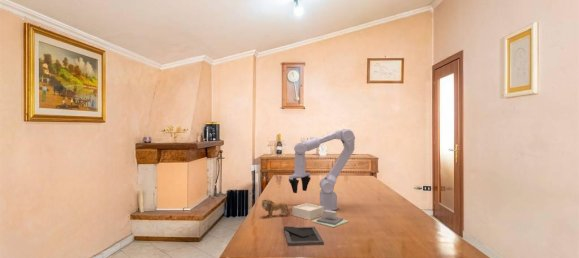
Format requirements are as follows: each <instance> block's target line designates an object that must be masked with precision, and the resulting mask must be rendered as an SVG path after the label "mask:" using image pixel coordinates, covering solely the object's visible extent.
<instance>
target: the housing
mask: <svg viewBox="0 0 579 258" xmlns="http://www.w3.org/2000/svg"><path fill="white" fill-rule="evenodd" d="M323 211H324V207H323V206H320V205H316V204H314V203H313V204H312V203H310V202H309V203H308V202H305V203H301V204H298V205H294V206H292V211H291V212H292V213H291V214H292V216H293V217H297V218H300V219H305V220H309V221H310V220H311V221H312V220H315V219H318V218H321V217H323V216H324V215H323Z"/></svg>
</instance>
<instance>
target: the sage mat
mask: <svg viewBox="0 0 579 258" xmlns="http://www.w3.org/2000/svg"><path fill="white" fill-rule="evenodd" d="M320 218H321V217H318V218H315V219H312V220H311V222H312V223H314V224H319V225H323V226H325V227H329V228H336V227H338V226H342V225H344V224H346V223H349V220H348V219H347V220H346V219H343V220H342V221H341V222H339V223H338V224H336V225H332V224H326V223H321V222H317V220H318V219H320Z"/></svg>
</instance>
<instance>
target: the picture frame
mask: <svg viewBox="0 0 579 258" xmlns="http://www.w3.org/2000/svg"><path fill="white" fill-rule="evenodd" d="M283 233H284V236H285V240H286V244H287V246H288V247H292V246H293V247H297V246H298V247H299V246H324V245H325V244H324V243H325V241H324V240H323V238H322V237H321V235H320V233H319V231H318V230H317V228H316V226H286V225H285V226H283Z"/></svg>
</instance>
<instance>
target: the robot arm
mask: <svg viewBox="0 0 579 258" xmlns="http://www.w3.org/2000/svg"><path fill="white" fill-rule="evenodd" d="M333 140H340V141H341V143H342V146H343V150H342V151H341V152H340V154H339V156H338V157H337V159H336V160H335V162H334V164H333V166H332V167H331V169H330V170H329V171H328V173H327V174H326V175H325V177H324V178H323V179H321V180H320V182H319V187H320V191H319V206H323V207H324V210H330V211H336V210H339V207H338V195H337V193H336V192H334V190H335V184H337V180H338V177H339V176H340V174H341V172H342V171H343V170H344V167H345V166H346V165H347V163H348V161H349V159H350V158H351V157H352V154H353V153H354V151H355V140H356V137H355V134H354V132H353V131H352V130H351V129H345V128H342V129H341V130H335V131H332V132H330V133H328V134H326V135H323V136H321V137H314V136H311V137H309V139H306V140H301V142H298V143H296V144H295V145H294V148H293V150H294V173H293V174H290V175H289V176H288V182H289V184H290V185H291V189H292V193H293V194H297V193H298V186H299V182H300V180H301V185H302V186H301V187H302V188H301V189H302V191H303V192H304V191H305V192H307V190H308V186H309V183H310V182H311V179H312V177H311V172H306V152H310V151H313V150H315V149H317V148H319V147H320V145H321V144H324V143H326V142H329V141H333ZM299 179H300V180H299Z"/></svg>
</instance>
